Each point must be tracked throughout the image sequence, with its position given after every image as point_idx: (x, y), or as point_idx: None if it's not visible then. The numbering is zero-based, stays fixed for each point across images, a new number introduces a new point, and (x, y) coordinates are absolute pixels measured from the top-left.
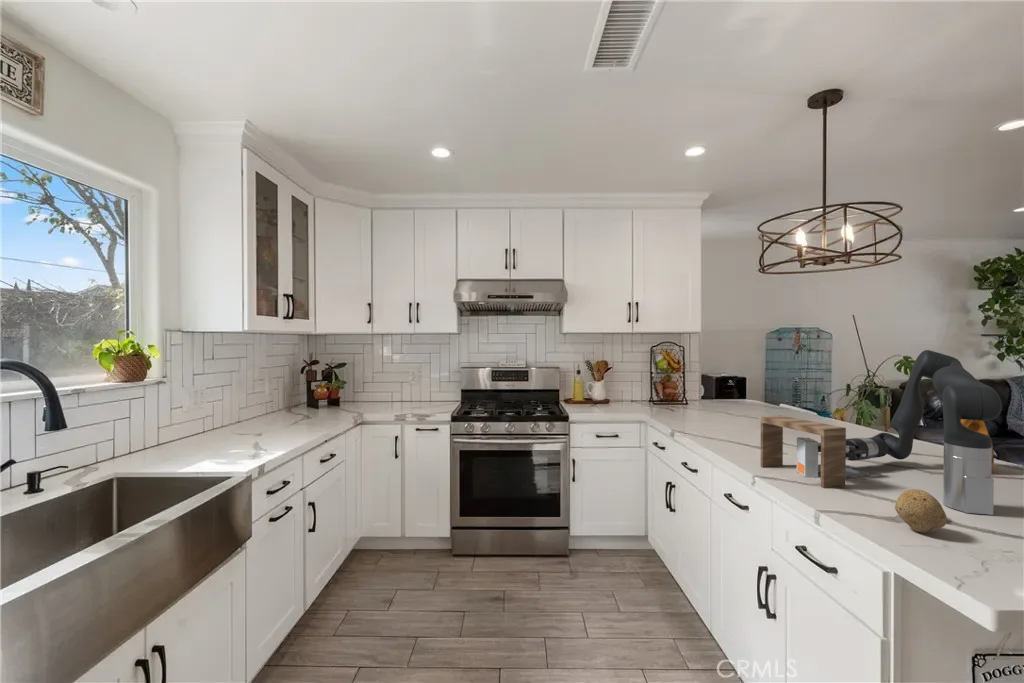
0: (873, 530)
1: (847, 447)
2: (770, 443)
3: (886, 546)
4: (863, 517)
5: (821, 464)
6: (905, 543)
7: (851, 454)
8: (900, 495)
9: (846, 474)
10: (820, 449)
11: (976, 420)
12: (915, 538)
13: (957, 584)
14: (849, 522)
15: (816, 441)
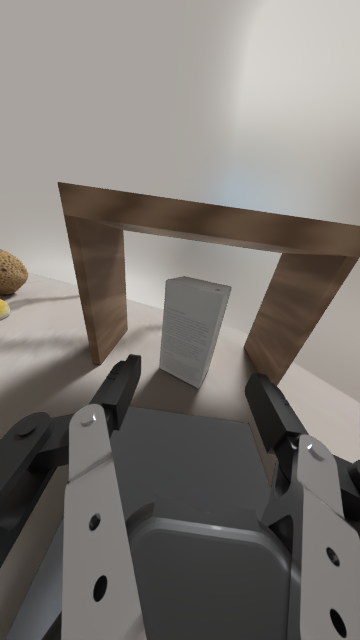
0: (57, 286)
1: (91, 578)
2: (271, 313)
3: (52, 279)
4: (64, 295)
5: (124, 293)
6: (35, 283)
7: (56, 421)
8: (16, 258)
9: None
10: (270, 436)
11: None
12: (21, 287)
13: None
14: (77, 288)
15: (169, 279)
